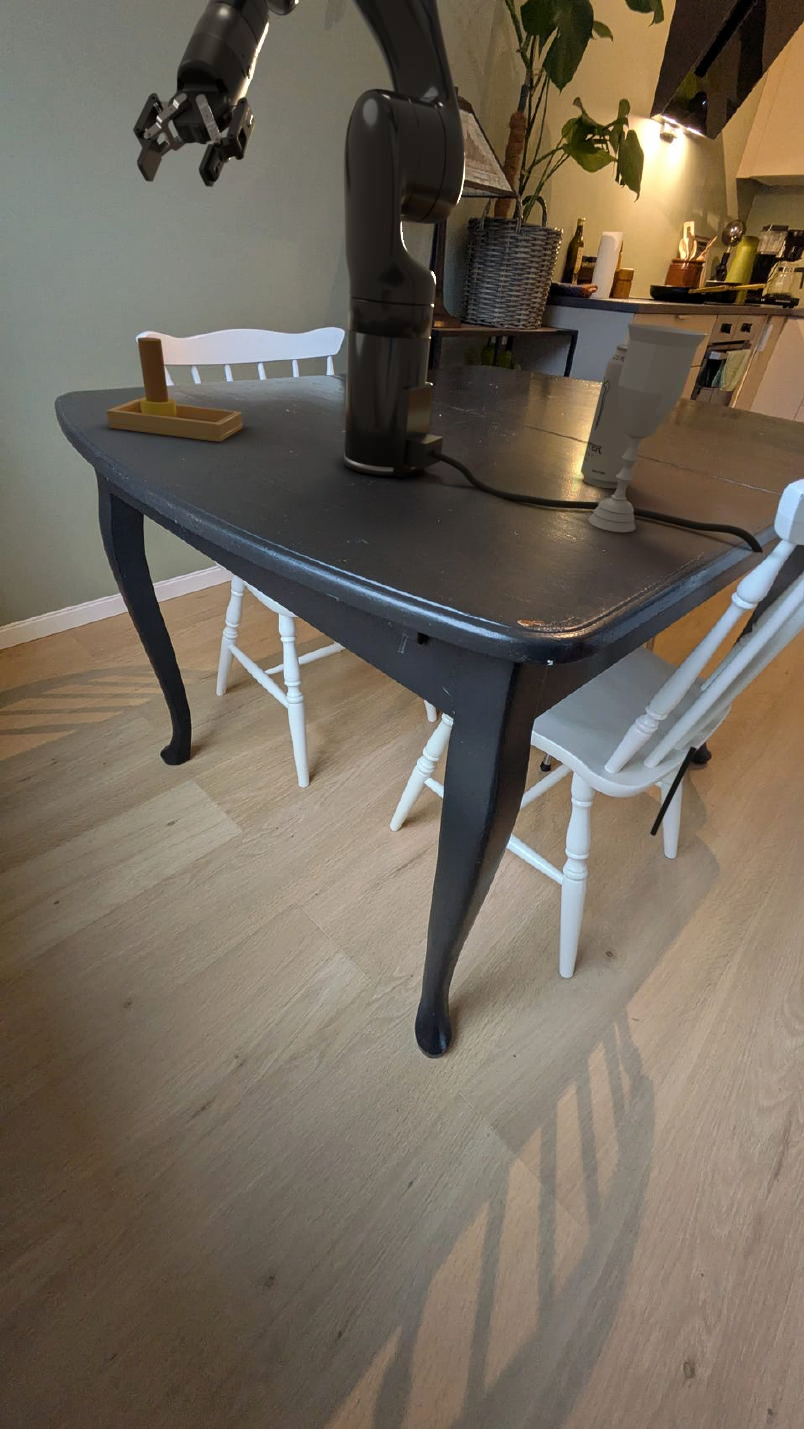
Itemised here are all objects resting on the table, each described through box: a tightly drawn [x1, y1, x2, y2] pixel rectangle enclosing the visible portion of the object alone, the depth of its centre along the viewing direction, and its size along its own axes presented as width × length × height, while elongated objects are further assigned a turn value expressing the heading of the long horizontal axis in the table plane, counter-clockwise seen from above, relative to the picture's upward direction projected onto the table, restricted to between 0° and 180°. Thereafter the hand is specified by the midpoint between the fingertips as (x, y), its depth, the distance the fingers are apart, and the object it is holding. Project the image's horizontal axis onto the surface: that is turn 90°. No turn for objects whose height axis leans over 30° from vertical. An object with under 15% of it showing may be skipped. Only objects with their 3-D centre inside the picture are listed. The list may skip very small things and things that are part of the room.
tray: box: [106, 398, 243, 443], centre depth 84 cm, size 15×8×2 cm, turn 81°
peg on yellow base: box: [136, 336, 177, 418], centre depth 82 cm, size 4×4×10 cm
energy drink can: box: [580, 344, 630, 489], centre depth 76 cm, size 6×6×15 cm
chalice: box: [587, 323, 708, 533], centre depth 62 cm, size 7×7×18 cm
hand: (174, 177), depth 76 cm, fingers open, 8 cm apart
